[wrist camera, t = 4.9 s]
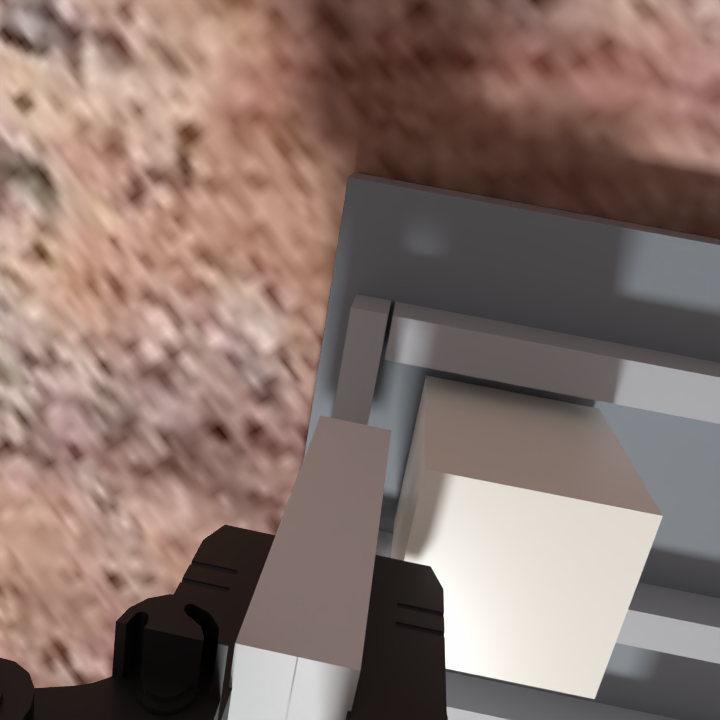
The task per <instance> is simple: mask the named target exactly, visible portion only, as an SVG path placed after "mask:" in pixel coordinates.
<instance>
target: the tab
mask: <svg viewBox="0 0 720 720" xmlns="http://www.w3.org/2000/svg"><path fill="white" fill-rule="evenodd" d="M662 517H663V515H662V514H661V512H660V510H659V509H658V507H657V505H656V504H655V502H654V500H653V498H652V497H651V495H650V493H649V492H648V490H647V488H646V487H645V485H644V483H643V482H642V480H641V478H640V477H639V475H638V473H637V471H636V470H635V468H634V466H633V465H632V463H631V461H630V460H629V458H628V456H627V455H626V453H625V451H624V450H623V448H622V446H621V444H620V443H619V441H618V439H617V438H616V436H615V434H614V433H613V431H612V429H611V428H610V426H609V424H608V423H607V421H606V419H605V418H604V416H603V414H602V412H601V411H600V409H599V408H594V407H588V406H583V405H578V404H573V403H567V402H562V401H557V400H552V399H547V398H541V397H536V396H531V395H526V394H521V393H515V392H510V391H505V390H500V389H494V388H489V387H484V386H479V385H474V384H468V383H463V382H458V381H453V380H448V379H442V378H437V377H432V376H427V375H426V377H425V382H424V386H423V391H422V396H421V400H420V405H419V409H418V414H417V419H416V423H415V428H414V433H413V437H412V442H411V446H410V451H409V456H408V460H407V465H406V470H405V474H404V479H403V483H402V488H401V493H400V497H399V502H398V507H397V511H396V516H395V520H394V528H393V540H392V551H391V558H393V559H398V560H403V561H407V562H412V563H417V564H422V565H426V566H431V568H432V570H433V571H434V573H435V575H436V577H437V579H438V580H439V582H440V584H441V586H442V587H443V591H444V616H443V617H444V628H445V632H444V637H445V666H446V669H451V670H456V671H460V672H465V673H470V674H475V675H480V676H485V677H489V678H494V679H499V680H504V681H509V682H514V683H519V684H523V685H528V686H533V687H538V688H543V689H548V690H552V691H557V692H562V693H567V694H572V695H577V696H582V697H586V698H591V699H595V697H596V694H597V691H598V689H599V686H600V683H601V681H602V678H603V675H604V673H605V670H606V667H607V665H608V662H609V659H610V657H611V654H612V651H613V648H614V646H615V643H616V640H617V638H618V635H619V632H620V630H621V627H622V624H623V622H624V619H625V616H626V614H627V611H628V608H629V606H630V603H631V600H632V598H633V595H634V592H635V589H636V587H637V584H638V581H639V579H640V576H641V573H642V571H643V568H644V565H645V563H646V560H647V557H648V555H649V552H650V549H651V547H652V544H653V541H654V539H655V536H656V533H657V531H658V528H659V525H660V522H661V520H662Z"/></svg>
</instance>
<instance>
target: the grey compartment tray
mask: <svg viewBox="0 0 720 720" xmlns="http://www.w3.org/2000/svg"><path fill="white" fill-rule="evenodd" d="M426 375H427V376H432V377H437V378H442V379H448V380H453V381H458V382H463V383H468V384H474V385H479V386H484V387H489V388H494V389H500V390H505V391H510V392H515V393H521V394H526V395H531V396H536V397H541V398H547V399H552V400H557V401H562V402H567V403H573V404H578V405H583V406H588V407H594V408H599V409H600V411H601V412H602V414H603V416H604V418H605V419H606V421H607V423H608V424H609V426H610V428H611V429H612V431H613V433H614V434H615V436H616V438H617V439H618V441H619V443H620V444H621V446H622V448H623V450H624V451H625V453H626V455H627V456H628V458H629V460H630V461H631V463H632V465H633V466H634V468H635V470H636V471H637V473H638V475H639V477H640V478H641V480H642V482H643V483H644V485H645V487H646V488H647V490H648V492H649V493H650V495H651V497H652V498H653V500H654V502H655V504H656V505H657V507H658V509H659V510H660V512H661V514H662V515H663V517H662V520H661V522H660V525H659V528H658V531H657V533H656V536H655V539H654V541H653V544H652V547H651V549H650V552H649V555H648V557H647V560H646V563H645V565H644V568H643V571H642V573H641V576H640V579H639V581H638V584H637V587H636V589H635V592H634V595H633V598H632V600H631V603H630V606H629V608H628V611H627V614H626V616H625V619H624V622H623V624H622V627H621V630H620V632H619V635H618V638H617V640H616V643H615V646H614V648H613V651H612V654H611V657H610V659H609V662H608V665H607V667H606V670H605V673H604V675H603V678H602V681H601V683H600V686H599V689H598V691H597V694H596V697H595V699H591V698H586V697H582V696H577V695H572V694H567V693H562V692H557V691H552V690H548V689H543V688H538V687H533V686H528V685H523V684H519V683H514V682H509V681H504V680H499V679H494V678H489V677H485V676H480V675H475V674H470V673H465V672H460V671H456V670H451V669H446V703H447V716H448V720H720V239H717V238H712V237H706V236H701V235H695V234H690V233H684V232H679V231H673V230H668V229H662V228H657V227H651V226H646V225H640V224H635V223H629V222H624V221H618V220H613V219H607V218H602V217H596V216H591V215H586V214H580V213H575V212H569V211H564V210H558V209H553V208H547V207H542V206H536V205H531V204H525V203H520V202H514V201H509V200H503V199H498V198H492V197H487V196H481V195H476V194H470V193H465V192H459V191H454V190H448V189H443V188H437V187H432V186H426V185H421V184H415V183H410V182H404V181H399V180H393V179H388V178H383V177H377V176H372V175H366V174H361V173H354V174H353V175H351V176H350V177H348V182H347V189H346V195H345V201H344V208H343V214H342V220H341V227H340V233H339V239H338V246H337V252H336V258H335V265H334V271H333V278H332V284H331V290H330V297H329V303H328V309H327V316H326V322H325V328H324V335H323V341H322V347H321V354H320V360H319V367H318V373H317V379H316V386H315V392H314V398H313V405H312V411H311V417H310V424H309V430H308V436H307V443H306V449H305V456H306V453H307V450H308V448H309V445H310V442H311V439H312V437H313V434H314V431H315V429H316V426H317V423H318V421H319V418H320V416H325V417H330V418H335V419H339V420H344V421H349V422H354V423H359V424H364V425H368V426H373V427H378V428H383V429H388V430H391V437H390V444H389V452H388V460H387V468H386V476H385V483H384V491H383V499H382V507H381V515H380V523H379V530H378V538H377V546H376V554H375V555H379V556H384V557H389V558H391V551H392V540H393V528H394V520H395V516H396V511H397V507H398V502H399V497H400V493H401V488H402V483H403V479H404V474H405V470H406V465H407V460H408V456H409V451H410V446H411V442H412V437H413V433H414V428H415V423H416V419H417V414H418V409H419V405H420V400H421V396H422V391H423V386H424V382H425V377H426ZM305 456H304V458H305Z"/></svg>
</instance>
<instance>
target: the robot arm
mask: <svg viewBox="0 0 720 720" xmlns="http://www.w3.org/2000/svg"><path fill="white" fill-rule="evenodd" d="M390 437H391V430H388V429H383V428H378V427H373V426H368V425H364V424H359V423H354V422H349V421H344V420H339V419H335V418H330V417H325V416H320V418H319V421H318V423H317V426H316V429H315V431H314V434H313V437H312V439H311V442H310V445H309V448H308V450H307V453H306V456H305V458H304V461H303V464H302V466H301V469H300V472H299V474H298V477H297V480H296V482H295V485H294V488H293V490H292V493H291V496H290V498H289V501H288V504H287V506H286V509H285V512H284V514H283V517H282V520H281V522H280V525H279V528H278V530H277V533H276V536H275V535H271V534H266V533H261V532H257V531H252V530H247V529H242V528H238V527H233V526H228V525H224V526H222V527H221V528H220V529H218V530H217V531H215V532H214V533H213V534H211V535H210V536H208V537H207V538H205V539H204V540H203V541H202V543H201V545H200V547H199V549H198V551H197V553H196V554H195V556H194V558H193V560H192V563H191V565H189V567H188V569H187V571H186V573H185V575H184V577H183V579H182V582H180V584H179V586H178V588H177V589H176V591H175V593H174V595H171V594H169V595H164V596H159V597H153V598H148V599H146V600H144V601H142V602H140V603H138V604H136V605H134V606H132V607H130V608H129V609H128V610H127V611H126V612H125V613H124V614H123V615H122V616H121V617H120V618H119V619H118V620H117V621H116V630H115V644H114V658H113V673H112V676H111V677H110V678H107V679H104V680H101V681H98V682H95V683H91V684H84V685H77V686H65V687H49V688H34V686H33V683H32V680H31V677H30V674H29V673H28V672H27V671H26V670H25V669H23V668H22V667H21V666H20V665H18V664H17V663H16V662H14V661H10V660H7V659H3V658H0V720H448V716H447V703H446V666H445V637H444V632H445V628H444V617H443V616H444V591H443V587H442V586H441V584H440V582H439V580H438V579H437V577H436V575H435V573H434V571H433V570H432V568H431V566H426V565H422V564H417V563H412V562H407V561H403V560H398V559H393V558H389V557H384V556H379V555H375V554H376V546H377V538H378V530H379V523H380V515H381V507H382V499H383V491H384V483H385V476H386V468H387V460H388V452H389V444H390Z"/></svg>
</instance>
